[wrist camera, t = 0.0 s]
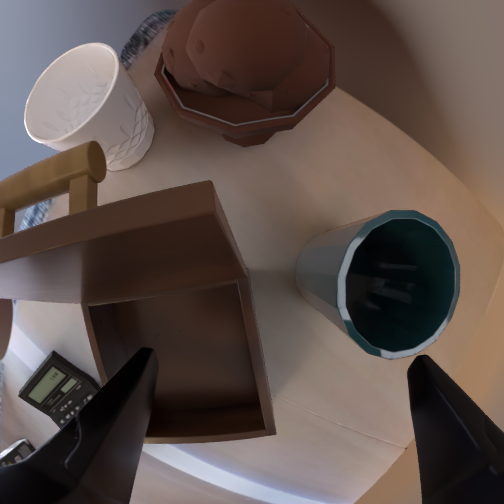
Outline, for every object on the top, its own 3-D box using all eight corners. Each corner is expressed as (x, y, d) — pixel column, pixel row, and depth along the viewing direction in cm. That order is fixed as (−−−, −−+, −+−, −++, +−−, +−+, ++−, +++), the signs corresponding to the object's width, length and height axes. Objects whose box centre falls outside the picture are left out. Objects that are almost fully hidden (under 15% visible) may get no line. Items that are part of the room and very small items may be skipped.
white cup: (75, 166, 24) (9, 134, 14) (108, 96, 24) (60, 43, 14) (139, 188, 24) (79, 153, 14) (175, 109, 24) (140, 44, 14)
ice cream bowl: (333, 117, 24) (400, 3, 9) (249, 203, 24) (246, 125, 9) (246, 54, 24) (243, -69, 9) (162, 128, 24) (85, 20, 9)
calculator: (97, 459, 24) (87, 473, 21) (30, 384, 24) (15, 393, 21) (143, 431, 24) (133, 447, 21) (65, 344, 24) (49, 352, 21)
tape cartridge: (66, 486, 24) (27, 534, 11) (53, 487, 24) (15, 531, 11) (26, 437, 24) (-24, 478, 11) (15, 440, 24) (-32, 477, 11)
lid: (216, 212, 5) (198, 67, 6) (-77, 288, 5) (-68, 196, 6) (247, 277, 18) (237, 216, 19) (76, 303, 18) (73, 250, 19)
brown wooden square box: (272, 403, 24) (276, 434, 18) (143, 414, 24) (124, 442, 18) (247, 267, 24) (246, 271, 19) (109, 290, 24) (79, 298, 18)
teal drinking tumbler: (383, 289, 24) (472, 313, 12) (314, 325, 24) (367, 384, 12) (353, 217, 24) (432, 189, 12) (281, 251, 24) (311, 249, 12)
